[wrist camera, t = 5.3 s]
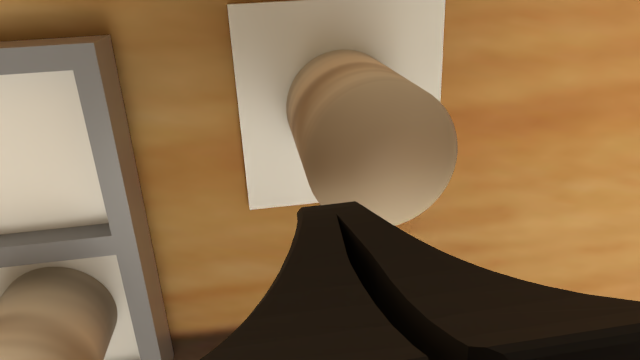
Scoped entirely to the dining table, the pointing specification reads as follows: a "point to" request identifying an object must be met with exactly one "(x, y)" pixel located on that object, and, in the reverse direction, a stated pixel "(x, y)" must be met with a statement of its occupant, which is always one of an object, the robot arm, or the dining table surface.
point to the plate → (300, 48)
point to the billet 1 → (56, 316)
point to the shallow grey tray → (77, 183)
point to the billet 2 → (370, 136)
